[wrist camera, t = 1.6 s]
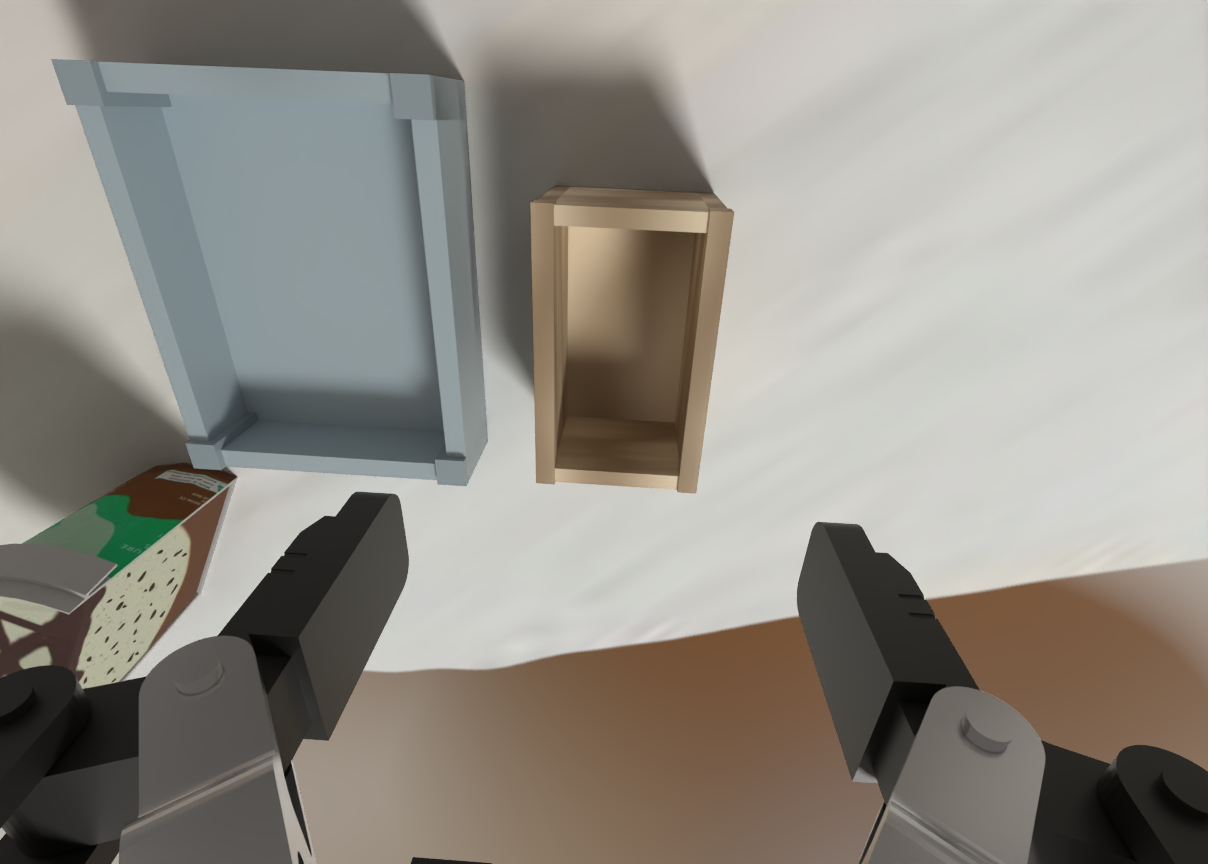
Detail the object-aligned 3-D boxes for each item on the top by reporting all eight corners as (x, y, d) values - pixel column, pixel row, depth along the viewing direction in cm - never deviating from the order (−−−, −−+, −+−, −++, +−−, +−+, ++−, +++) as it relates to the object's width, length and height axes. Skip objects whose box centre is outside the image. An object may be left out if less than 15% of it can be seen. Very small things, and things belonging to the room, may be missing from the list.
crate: (464, 80, 21) (429, 74, 17) (487, 441, 28) (466, 486, 24) (144, 67, 21) (51, 59, 18) (247, 426, 28) (193, 468, 25)
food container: (116, 395, 28) (-128, 526, 19) (244, 455, 29) (70, 603, 20) (87, 565, 33) (-114, 727, 24) (195, 609, 34) (42, 779, 26)
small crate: (715, 192, 22) (733, 212, 18) (687, 429, 27) (696, 493, 22) (553, 184, 22) (530, 202, 18) (554, 421, 27) (536, 482, 23)
